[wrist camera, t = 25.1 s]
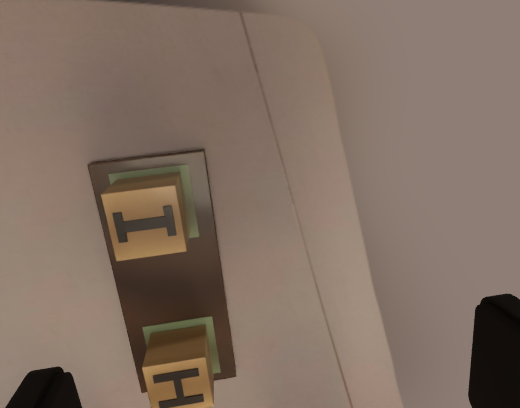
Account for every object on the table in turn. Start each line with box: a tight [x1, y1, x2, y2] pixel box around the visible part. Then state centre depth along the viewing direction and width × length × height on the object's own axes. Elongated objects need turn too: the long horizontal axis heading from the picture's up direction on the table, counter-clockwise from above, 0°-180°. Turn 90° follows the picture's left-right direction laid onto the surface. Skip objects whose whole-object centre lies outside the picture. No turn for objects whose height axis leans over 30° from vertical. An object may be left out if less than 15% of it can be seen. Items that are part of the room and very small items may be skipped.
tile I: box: [101, 172, 190, 261], centre depth 29 cm, size 5×5×5 cm
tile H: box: [142, 325, 214, 408], centre depth 33 cm, size 5×5×5 cm
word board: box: [88, 149, 236, 393], centre depth 33 cm, size 22×9×1 cm, turn 6°
